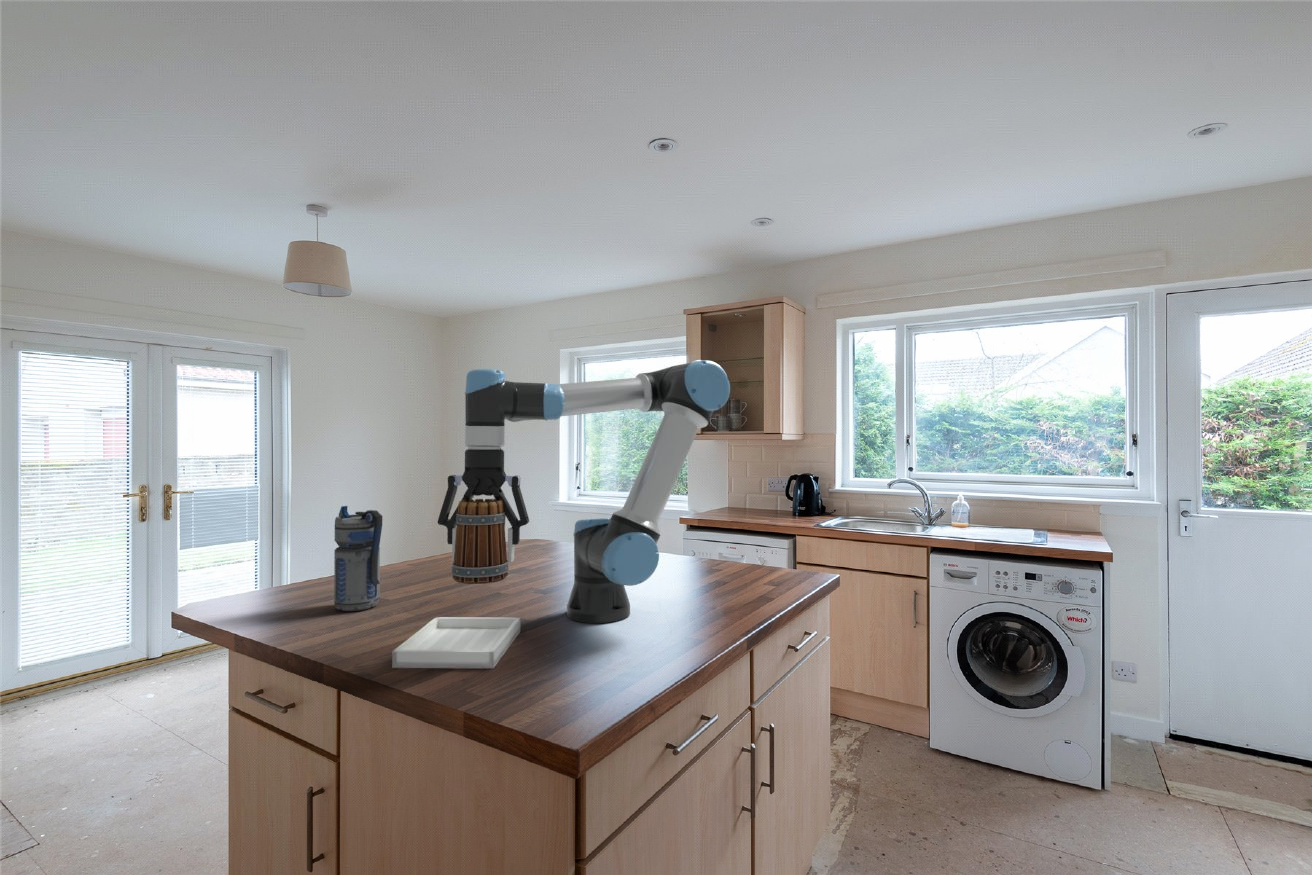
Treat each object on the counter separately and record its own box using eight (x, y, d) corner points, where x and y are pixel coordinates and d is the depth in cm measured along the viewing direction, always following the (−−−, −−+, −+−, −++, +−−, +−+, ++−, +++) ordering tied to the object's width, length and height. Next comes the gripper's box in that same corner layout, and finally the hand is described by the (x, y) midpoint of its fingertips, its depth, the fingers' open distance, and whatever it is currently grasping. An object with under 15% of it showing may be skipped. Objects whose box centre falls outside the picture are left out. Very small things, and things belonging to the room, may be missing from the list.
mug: (495, 585, 113) (495, 504, 113) (441, 583, 114) (441, 503, 114) (526, 568, 128) (526, 496, 128) (478, 566, 130) (478, 495, 130)
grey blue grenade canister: (362, 615, 145) (363, 510, 145) (322, 609, 150) (322, 507, 150) (395, 605, 155) (396, 506, 155) (357, 599, 160) (357, 503, 160)
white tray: (520, 631, 134) (520, 617, 134) (493, 668, 112) (493, 651, 112) (435, 630, 134) (435, 617, 134) (392, 667, 113) (392, 651, 113)
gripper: (545, 448, 125) (543, 557, 125) (433, 447, 125) (431, 557, 125) (539, 449, 118) (538, 564, 118) (420, 447, 117) (418, 564, 117)
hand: (483, 560), depth 121 cm, fingers closed on mug, 10 cm apart
